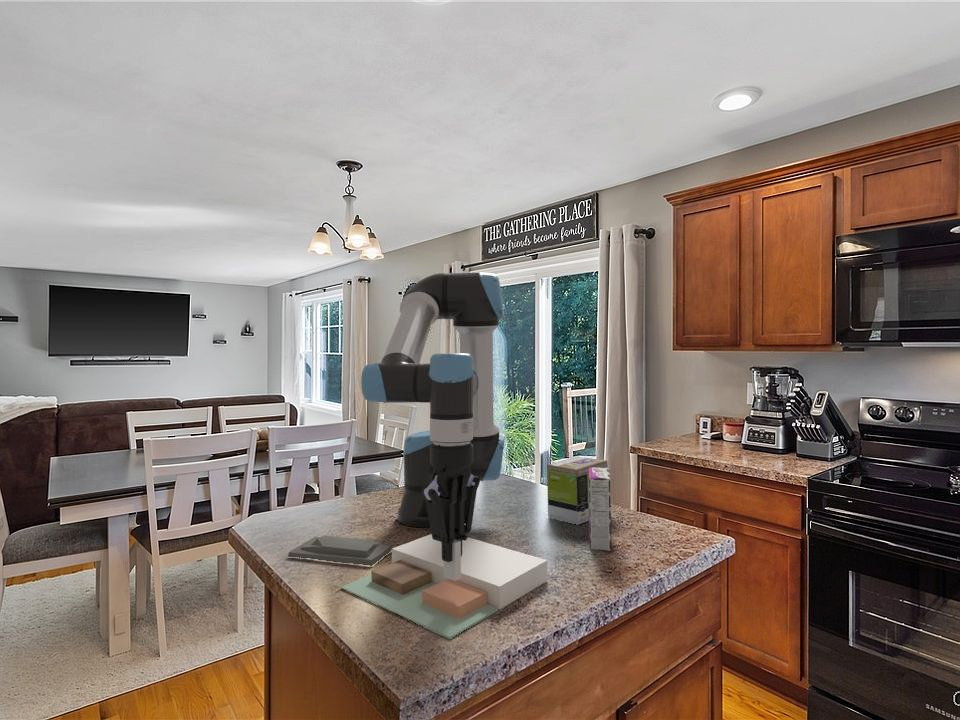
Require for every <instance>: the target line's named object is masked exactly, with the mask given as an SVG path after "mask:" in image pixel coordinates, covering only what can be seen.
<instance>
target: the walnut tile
mask: <svg viewBox="0 0 960 720" xmlns="http://www.w3.org/2000/svg"><path fill="white" fill-rule="evenodd" d="M371 574H372V582H374V583H377V584H379V585H381V586H383V587H386V588H388V589H390V590H392V591H395V592H397V593H399V594H401V595H404V594H406V593H408V592H410V591H413V590H415V589H417V588H419V587H422V586H424V585H426V584H428V583H430V582H431V572H429V571H427V570H424V569H421V568H419V567H416V566H414V565H411V564H408V563H406V562H403V561H401V560H399V561H396V562H393V563H392V562H390V563H388V564H386V565H383V566H381V567H379V568H376V569H372V570H371Z"/></svg>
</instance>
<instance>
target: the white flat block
mask: <svg viewBox="0 0 960 720" xmlns="http://www.w3.org/2000/svg"><path fill="white" fill-rule="evenodd" d="M399 560H401V561H403V562H406V563H408V564H411V565H414V566H416V567H419V568H421V569H424V570H427V571H429V572H431V583H433V584H438V583H440V582H443V581H445V580H447V579H448V578H445V577H444V561H443V560H442V543H441V542H440V541H437V540H433V538H432V534H431V533H430V534H428V535H425V536H422V537H419V538H417V539H415V540H412V541H410V542H406V543H403V544H400V545H398V546H396V547H392V552H391V563H393V562H396V561H399ZM456 581H459V582H462V583H464V584H467V585H469V586H472V587H474V588H477V589H480V590H482V591H485V592H487V604H488V605H491V606H493V607H496V608H498V611H499V610H502V609H504V608H505V607H507V606H508V605H510V604H511V603H513V602H515V601H517V600H518V599H519V598H522V597H524V596H525V595H526V594H528V593H529V592H531V591H533V590H535V589H536V588H538V587H540V586H541V585H543V584H545V583H546V582H547V581H548V560H547V559H544V558H541V557H537V556H534V555H530V554H527V553H523V552H520V551H516V550H512V549H509V548H506V547H503V546H499V545H495V544H493V543H489V542H485V541H482V540H479V539H475V538H471V537H468V538H467V540H462V556H461V579H458V580H456Z"/></svg>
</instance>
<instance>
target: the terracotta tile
mask: <svg viewBox="0 0 960 720" xmlns="http://www.w3.org/2000/svg"><path fill="white" fill-rule="evenodd" d="M422 602H423V603H425V604H428V605H430V606H432V607H434V608H436V609H439V610H441V611H443V612H445V613H447V614H450V615H452V616H454V617H456V618H458V619H460V618H461V617H463V616H465V615H467V614H469V613H471V612H473V611H474V610H476V609H478V608H480V607H482V606H484V605H486V604H487V592H485V591H482V590H480V589H477V588H474V587H472V586H469V585H467V584H464V583H462V582H459V581H453V580H451V579H447V580H445V581H443V582H440V583H438V584H436V585H434V586H431V587H429V588H427V589H425V590H422Z"/></svg>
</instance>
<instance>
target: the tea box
mask: <svg viewBox="0 0 960 720" xmlns="http://www.w3.org/2000/svg"><path fill="white" fill-rule="evenodd" d="M591 467H595V468H609V467H608V460H605V459H597V458H592V457H590V458H589V457H583V456H574V457H572V458H568V459H564V460H559V461H557V462H553V463H550V464H549V463H548V464H546V470H547V471H546V473H547V474H546V477H547V481H546V482H547V484H546V485H547V486H546V487H547V517H548V518H549V517H550V518H549V519H552V518H553V519H552V520H555V519H557V520H556V521H559V520H561V521H560V522H563V521H565V522H564V523H566V522H568V523H567V524H570V523H572V524H571V525H574V524H576V525H575V526H579V525H581V524H583V523H586V522H589V468H591Z"/></svg>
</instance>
